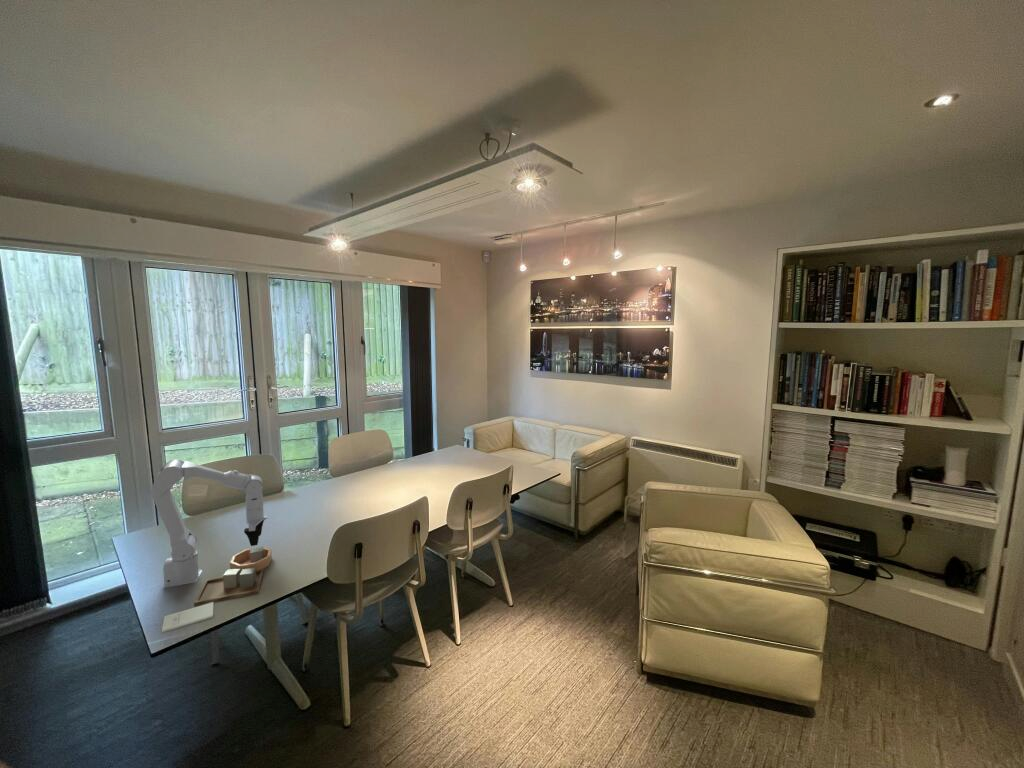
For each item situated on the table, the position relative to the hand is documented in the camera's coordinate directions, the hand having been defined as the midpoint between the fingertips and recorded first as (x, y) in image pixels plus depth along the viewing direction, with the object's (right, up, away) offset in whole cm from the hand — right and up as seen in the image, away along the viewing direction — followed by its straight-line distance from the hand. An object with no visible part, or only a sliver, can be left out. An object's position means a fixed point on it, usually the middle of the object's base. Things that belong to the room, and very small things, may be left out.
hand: (255, 540), depth 157 cm
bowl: (-1, -10, -1) cm, 10 cm away
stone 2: (+5, -11, -13) cm, 18 cm away
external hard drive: (-2, -14, -30) cm, 33 cm away
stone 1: (0, -11, -14) cm, 17 cm away
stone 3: (0, -9, +1) cm, 9 cm away
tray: (+1, -11, -15) cm, 19 cm away
